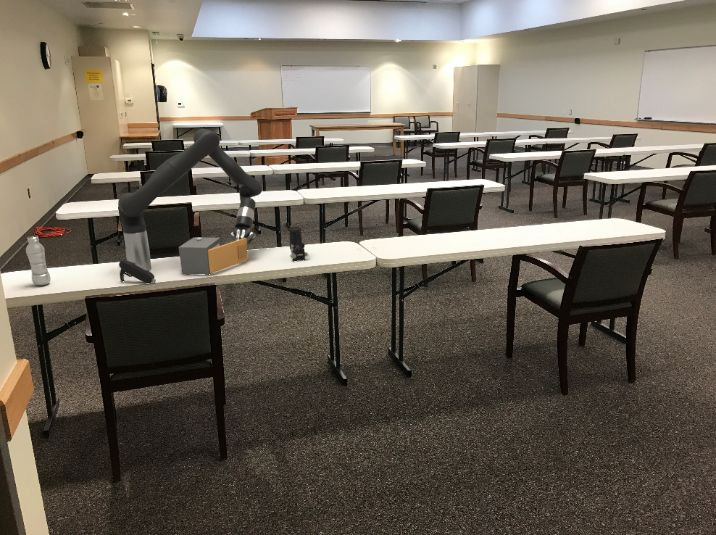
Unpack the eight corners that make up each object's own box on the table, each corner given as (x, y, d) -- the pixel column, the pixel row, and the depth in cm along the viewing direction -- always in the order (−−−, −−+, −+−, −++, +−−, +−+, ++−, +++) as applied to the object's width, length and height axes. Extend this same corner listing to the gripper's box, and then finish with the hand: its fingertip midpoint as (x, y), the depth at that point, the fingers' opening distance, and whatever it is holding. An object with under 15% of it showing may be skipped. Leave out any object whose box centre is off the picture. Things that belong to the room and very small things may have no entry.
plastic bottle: (44, 287, 222) (34, 239, 216) (29, 287, 223) (19, 238, 217) (55, 282, 228) (46, 234, 222) (40, 281, 229) (30, 234, 223)
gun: (147, 297, 226) (155, 276, 223) (113, 277, 227) (120, 257, 223) (151, 294, 229) (159, 274, 225) (117, 275, 229) (124, 255, 226)
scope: (289, 232, 245) (283, 227, 254) (291, 262, 249) (285, 256, 258) (307, 230, 248) (301, 225, 257) (308, 259, 252) (302, 254, 261)
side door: (210, 273, 233) (207, 250, 230) (246, 259, 251) (244, 238, 248) (212, 273, 232) (210, 250, 229) (249, 260, 250) (247, 238, 247)
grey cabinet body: (178, 274, 235) (174, 245, 231) (193, 263, 250) (190, 235, 246) (209, 275, 234) (206, 245, 230) (222, 263, 249) (220, 235, 245)
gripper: (228, 214, 253) (221, 248, 245) (256, 215, 252) (250, 248, 244) (233, 223, 260) (226, 256, 252) (260, 223, 258) (255, 256, 250)
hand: (238, 252), depth 248 cm, fingers closed
